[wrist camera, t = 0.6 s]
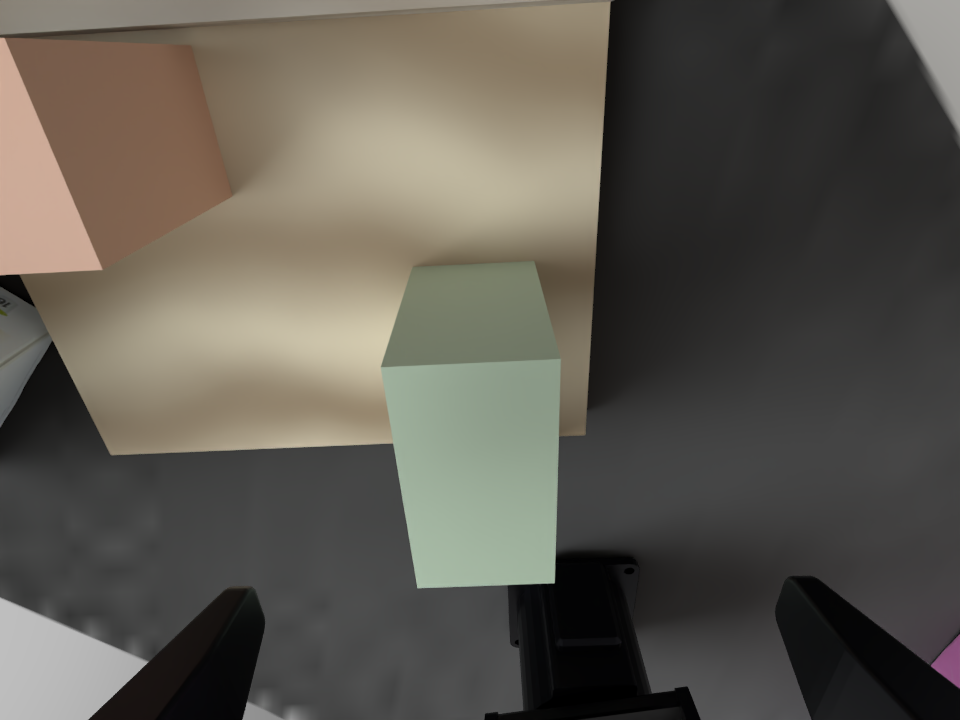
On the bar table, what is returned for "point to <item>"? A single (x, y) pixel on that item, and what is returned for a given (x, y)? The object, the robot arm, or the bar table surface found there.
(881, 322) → the bar table surface
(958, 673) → the gum box
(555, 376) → the sage carton
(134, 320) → the shelf board
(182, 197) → the pink box
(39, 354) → the tea box
